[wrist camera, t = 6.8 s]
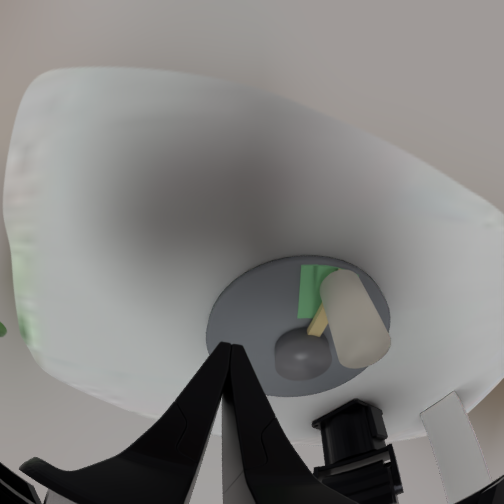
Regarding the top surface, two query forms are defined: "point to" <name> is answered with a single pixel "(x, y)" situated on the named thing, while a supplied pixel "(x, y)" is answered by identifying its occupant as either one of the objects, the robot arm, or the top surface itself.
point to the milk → (455, 449)
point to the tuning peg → (334, 332)
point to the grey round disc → (283, 318)
